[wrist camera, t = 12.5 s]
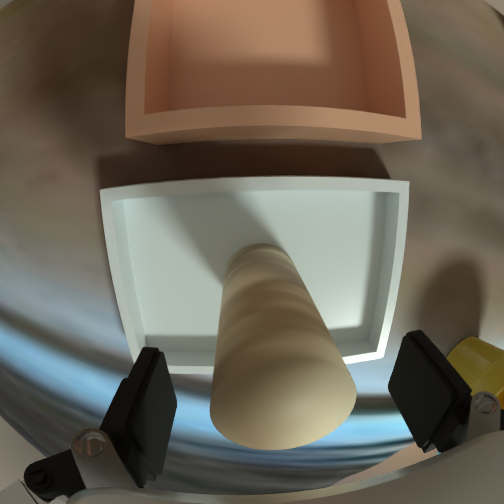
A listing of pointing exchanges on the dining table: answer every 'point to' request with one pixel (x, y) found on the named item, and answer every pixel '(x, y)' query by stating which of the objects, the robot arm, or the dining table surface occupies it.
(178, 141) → the peach square hollow box
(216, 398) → the maple peg
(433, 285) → the dining table surface
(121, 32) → the dining table surface
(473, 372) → the plant pot
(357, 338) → the grey tray
